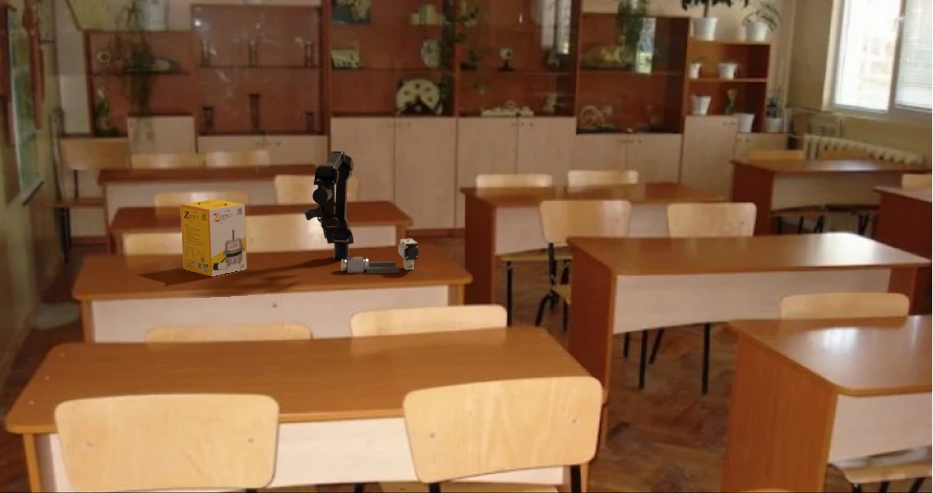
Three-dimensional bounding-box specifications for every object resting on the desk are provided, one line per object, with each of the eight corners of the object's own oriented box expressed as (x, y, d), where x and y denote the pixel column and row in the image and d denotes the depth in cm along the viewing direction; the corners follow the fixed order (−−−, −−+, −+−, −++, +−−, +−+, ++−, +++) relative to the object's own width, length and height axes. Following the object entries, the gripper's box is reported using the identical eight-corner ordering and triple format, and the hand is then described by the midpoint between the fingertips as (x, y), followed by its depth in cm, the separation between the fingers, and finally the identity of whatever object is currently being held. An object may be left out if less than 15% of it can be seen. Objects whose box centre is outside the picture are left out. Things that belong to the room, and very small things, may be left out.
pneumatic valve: (409, 264, 348) (410, 234, 345) (418, 272, 337) (419, 241, 335) (396, 265, 346) (396, 235, 344) (404, 273, 336) (405, 242, 333)
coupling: (341, 270, 339) (340, 257, 337) (367, 269, 341) (367, 256, 340) (342, 273, 334) (342, 260, 333) (369, 272, 336) (369, 259, 335)
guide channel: (364, 267, 343) (364, 262, 342) (395, 266, 345) (395, 261, 345) (367, 273, 334) (367, 268, 333) (399, 272, 336) (399, 267, 336)
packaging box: (218, 262, 345) (216, 198, 339) (246, 269, 336) (244, 203, 330) (183, 270, 332) (180, 204, 327) (211, 278, 323) (208, 209, 317)
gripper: (302, 195, 335) (303, 236, 339) (307, 204, 318) (308, 247, 321) (332, 194, 338) (332, 235, 342) (338, 203, 320) (339, 246, 324)
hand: (327, 240), depth 332 cm, fingers open, 9 cm apart
